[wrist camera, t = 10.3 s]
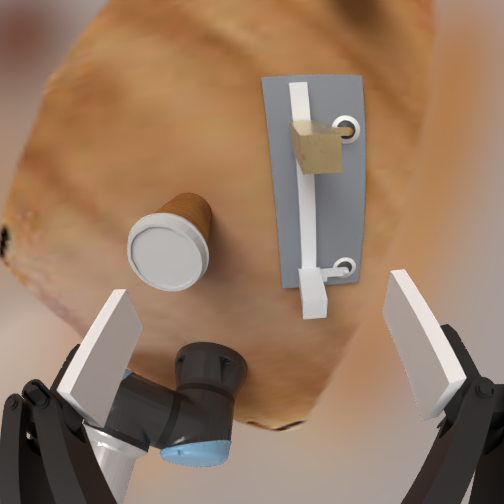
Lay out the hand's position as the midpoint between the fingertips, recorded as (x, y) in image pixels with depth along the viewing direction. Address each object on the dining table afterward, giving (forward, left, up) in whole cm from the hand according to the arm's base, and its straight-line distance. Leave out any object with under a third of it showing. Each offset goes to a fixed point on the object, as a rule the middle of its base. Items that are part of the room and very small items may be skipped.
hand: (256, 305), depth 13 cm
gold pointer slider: (+4, -7, -24) cm, 25 cm away
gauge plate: (-3, -7, -26) cm, 27 cm away
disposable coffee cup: (-5, +11, -26) cm, 29 cm away
